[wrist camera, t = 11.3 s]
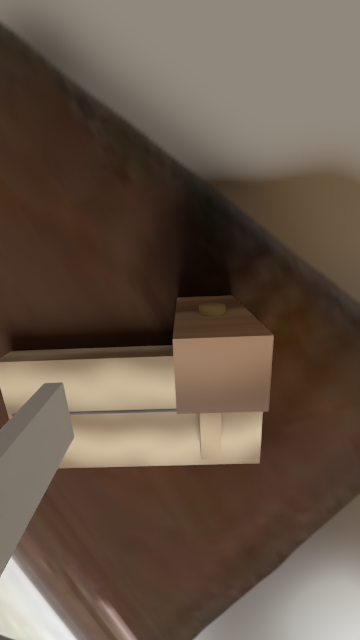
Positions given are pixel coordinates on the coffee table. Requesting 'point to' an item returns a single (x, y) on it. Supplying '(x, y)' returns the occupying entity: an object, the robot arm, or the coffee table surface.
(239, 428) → the board
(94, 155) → the coffee table surface
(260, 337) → the block
